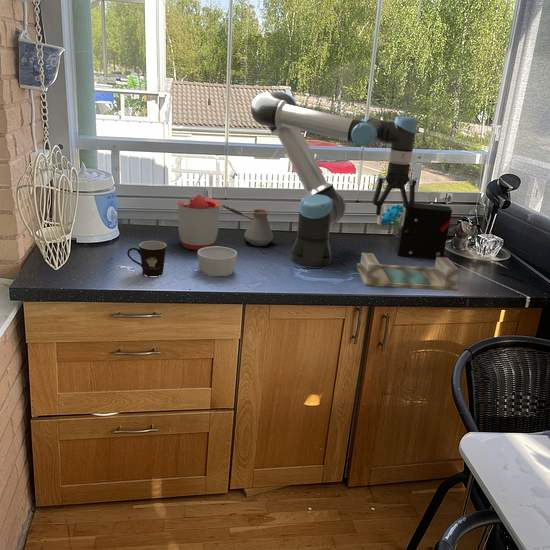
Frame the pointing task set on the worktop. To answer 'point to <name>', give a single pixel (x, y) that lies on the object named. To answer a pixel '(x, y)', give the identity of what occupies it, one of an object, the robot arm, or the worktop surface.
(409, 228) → the electrical component
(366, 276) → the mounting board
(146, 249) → the coffee mug
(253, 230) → the coffee pot
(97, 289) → the worktop surface
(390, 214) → the gear
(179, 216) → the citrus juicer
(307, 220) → the robot arm
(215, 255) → the ramekin
